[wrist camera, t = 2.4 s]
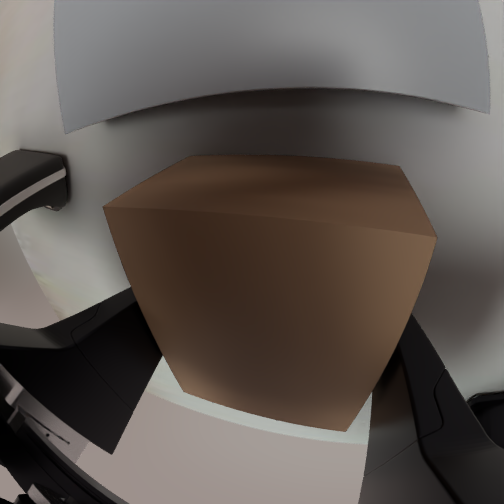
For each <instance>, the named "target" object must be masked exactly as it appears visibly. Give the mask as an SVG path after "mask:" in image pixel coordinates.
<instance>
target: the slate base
mask: <svg viewBox="0 0 504 504" xmlns="http://www.w3.org/2000/svg"><path fill="white" fill-rule="evenodd" d="M54 55H55V69H56V79H57V88H58V96H59V103H60V109H61V115H62V121H63V126H64V131H65V134H68V133H70V132H73V131H76V130H78V129H81V128H84V127H87V126H90V125H93V124H96V123H99V122H102V121H106V120H109V119H112V118H115V117H118V116H122V115H125V114H129V113H132V112H136V111H139V110H143V109H147V108H151V107H155V106H160V105H164V104H169V103H173V102H178V101H183V100H189V99H194V98H200V97H206V96H213V95H220V94H228V93H236V92H246V91H257V90H272V89H298V88H322V89H348V90H362V91H373V92H382V93H391V94H398V95H405V96H411V97H417V98H422V99H427V100H432V101H437V102H442V103H446V104H450V105H454V106H458V107H463V108H467V109H471V110H475V111H479V112H483V113H487V114H490V75H489V61H488V51H487V43H486V36H485V30H484V24H483V19H482V14H481V10H480V5H479V1H478V0H55V1H54Z"/></svg>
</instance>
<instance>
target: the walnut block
mask: <svg viewBox="0 0 504 504" xmlns="http://www.w3.org/2000/svg"><path fill="white" fill-rule="evenodd" d="M103 210H104V213H105V216H106V219H107V222H108V225H109V229H110V232H111V235H112V237H113V240H114V243H115V246H116V249H117V252H118V254H119V257H120V260H121V262H122V265H123V268H124V270H125V273H126V275H127V278H128V280H129V283H130V285H131V288H132V290H133V292H134V295H135V297H136V299H137V302H138V304H139V306H140V308H141V311H142V313H143V315H144V317H145V319H146V322H147V324H148V326H149V328H150V330H151V332H152V334H153V336H154V338H155V340H156V342H157V344H158V346H159V348H160V350H161V352H162V354H163V356H164V358H165V360H166V362H167V363H168V365H169V367H170V369H171V371H172V373H173V374H174V376H175V378H176V380H177V381H178V383H179V385H180V387H181V388H182V390H183V392H186V393H188V394H191V395H194V396H196V397H199V398H202V399H205V400H208V401H211V402H214V403H217V404H220V405H223V406H226V407H230V408H233V409H236V410H240V411H243V412H247V413H251V414H254V415H258V416H262V417H266V418H270V419H275V420H279V421H284V422H288V423H293V424H298V425H304V426H309V427H315V428H321V429H328V430H335V431H343V432H346V431H347V429H348V428H349V426H350V425H351V423H352V422H353V420H354V419H355V417H356V416H357V414H358V413H359V411H360V410H361V408H362V407H363V405H364V403H365V402H366V400H367V399H368V397H369V395H370V394H371V392H372V390H373V389H374V387H375V385H376V383H377V382H378V380H379V378H380V376H381V374H382V373H383V371H384V369H385V367H386V365H387V363H388V361H389V359H390V358H391V356H392V354H393V352H394V350H395V348H396V346H397V343H398V341H399V339H400V337H401V335H402V333H403V331H404V328H405V326H406V324H407V322H408V319H409V317H410V315H411V312H412V310H413V307H414V305H415V302H416V300H417V297H418V295H419V292H420V289H421V287H422V284H423V281H424V278H425V276H426V273H427V270H428V267H429V264H430V260H431V257H432V254H433V251H434V247H435V244H436V240H437V236H436V234H435V231H434V229H433V227H432V225H431V223H430V221H429V219H428V217H427V215H426V213H425V211H424V209H423V207H422V205H421V203H420V201H419V199H418V197H417V196H416V194H415V192H414V190H413V188H412V187H411V185H410V183H409V181H408V180H407V178H406V176H405V174H404V173H403V171H402V169H401V168H400V166H395V165H388V164H381V163H373V162H365V161H356V160H346V159H335V158H323V157H308V156H289V155H199V156H189V157H187V158H185V159H183V160H181V161H179V162H177V163H175V164H174V165H172V166H170V167H168V168H166V169H164V170H163V171H161V172H159V173H157V174H155V175H154V176H152V177H150V178H148V179H147V180H145V181H143V182H141V183H140V184H138V185H136V186H135V187H133V188H131V189H130V190H128V191H127V192H125V193H123V194H122V195H120V196H118V197H117V198H115V199H114V200H112V201H111V202H109V203H108V204H106V205H104V206H103Z"/></svg>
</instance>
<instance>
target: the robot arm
mask: <svg viewBox="0 0 504 504" xmlns="http://www.w3.org/2000/svg"><path fill="white" fill-rule="evenodd" d="M162 356H163V354H162V352H161V350H160V348H159V346H158V344H157V342H156V340H155V338H154V336H153V334H152V332H151V330H150V328H149V326H148V324H147V322H146V319H145V317H144V315H143V313H142V311H141V308H140V306H139V304H138V302H137V299H136V297H135V295H134V292H133V290H132V288H131V287H130V288H128V289H126V290H124V291H122V292H120V293H118V294H116V295H114V296H112V297H110V298H108V299H106V300H104V301H102V302H100V303H98V304H96V305H94V306H92V307H90V308H88V309H86V310H84V311H82V312H79V313H77V314H75V315H73V316H70V317H68V318H66V319H64V320H61V321H59V322H57V323H54V324H52V325H50V326H47V327H45V328H40V329H31V328H24V327H19V326H14V325H8V324H4V323H0V465H2V466H4V467H6V468H7V469H8V471H9V472H10V474H11V475H12V476H13V478H14V479H15V480H16V481H17V483H18V484H19V485H20V487H21V488H22V489H23V490H24V492H25V493H26V494H19V495H18V496H17V498H16V500H15V502H14V503H12V502H9V501H7V500H5V499H2V498H0V504H129V503H127V502H126V501H124V500H123V499H121V498H120V497H118V496H116V495H115V494H114V493H112V492H111V491H109V490H108V489H106V488H105V487H104V486H102V485H101V484H99V483H98V482H97V481H96V480H94V479H93V478H92V477H90V476H89V475H88V474H87V473H85V472H84V471H83V470H81V469H80V468H79V467H78V466H77V465H76V464H75V463H76V462H77V460H78V459H79V457H80V455H81V454H82V452H83V451H84V449H85V447H86V446H87V444H88V443H89V441H90V442H92V443H93V444H95V445H96V446H98V447H100V448H101V449H103V450H105V451H106V452H108V453H110V454H113V452H114V450H115V448H116V446H117V444H118V442H119V440H120V438H121V436H122V434H123V432H124V430H125V428H126V426H127V424H128V422H129V420H130V418H131V416H132V414H133V411H134V409H135V408H136V406H137V404H138V402H139V400H140V398H141V396H142V394H143V392H144V390H145V388H146V386H147V384H148V382H149V381H150V379H151V377H152V375H153V373H154V371H155V369H156V367H157V365H158V363H159V361H160V360H161V358H162ZM358 504H504V394H495V395H486V396H478V397H475V398H473V399H472V400H470V401H469V402H468V403H466V401H465V399H464V398H463V396H462V395H461V393H460V392H459V390H458V388H457V386H456V385H455V383H454V381H453V380H452V378H451V376H450V374H449V372H448V371H447V369H445V366H444V364H443V362H442V360H441V359H440V357H439V355H438V354H437V352H436V350H435V349H434V347H433V345H432V344H431V342H430V341H429V339H428V337H427V336H426V334H425V333H424V331H423V330H422V328H421V326H420V325H419V323H418V322H417V320H416V319H415V317H414V316H413V314H412V313H411V315H410V317H409V319H408V322H407V324H406V326H405V328H404V331H403V333H402V335H401V337H400V339H399V341H398V343H397V346H396V348H395V350H394V352H393V354H392V356H391V358H390V359H389V361H388V363H387V365H386V367H385V369H384V371H383V373H382V374H381V376H380V378H379V380H378V382H377V383H376V385H375V387H374V389H373V390H372V406H371V420H370V431H369V441H368V449H367V457H366V464H365V471H364V477H363V482H362V487H361V493H360V498H359V502H358Z"/></svg>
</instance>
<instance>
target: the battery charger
mask: <svg viewBox="0 0 504 504" xmlns="http://www.w3.org/2000/svg"><path fill="white" fill-rule="evenodd" d="M65 176H66V170H65V167H64V166H63V161H62V158H61V157H59V156H57V155H51V154H45V153H38V152H31V151H20V150H15V151H12V152H10V153H8V154H6V155H4V156H3V157H1V158H0V231H2V230H3V229H4V228H5V227H6V226H8V225H9V224H11V223H12V222H13V221H14V220H16V219H17V218H19V217H20V216H22V215H23V214H25V213H26V212H28V211H30V210H32V209H35V208H39V207H43V206H44V207H46V208H48V209H51V210H54V211H58V210H60V209H62V208H63V207H64V206H65V204H66V201H67V187H66V181H65Z"/></svg>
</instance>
